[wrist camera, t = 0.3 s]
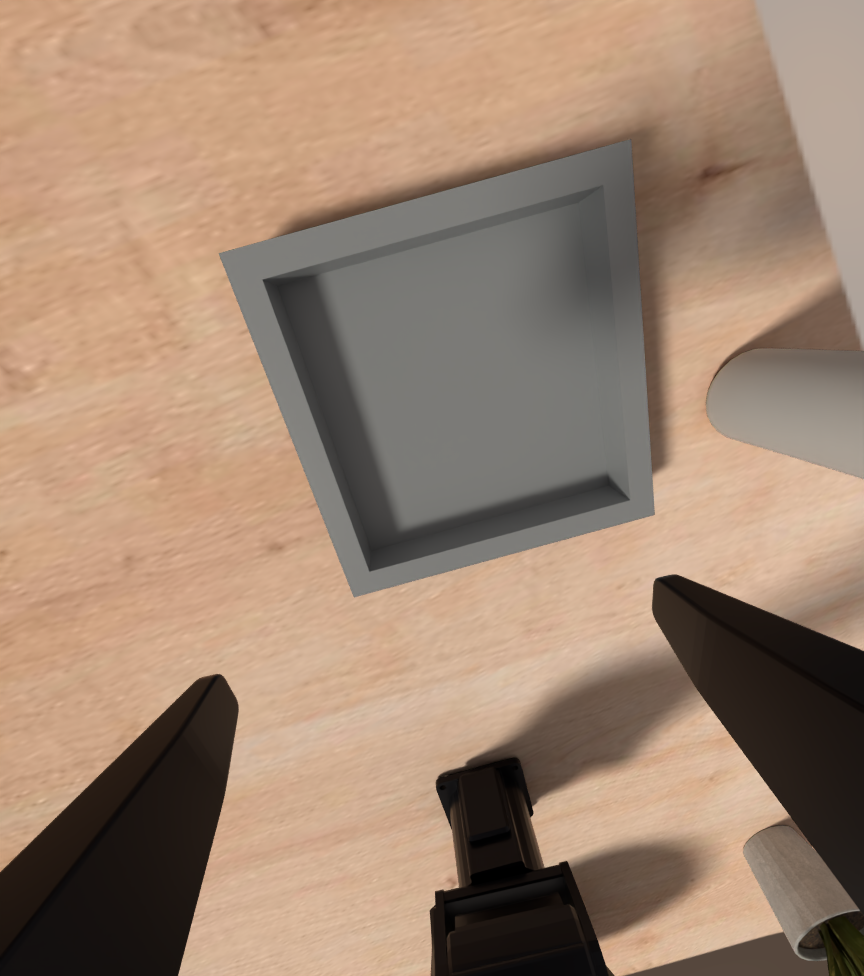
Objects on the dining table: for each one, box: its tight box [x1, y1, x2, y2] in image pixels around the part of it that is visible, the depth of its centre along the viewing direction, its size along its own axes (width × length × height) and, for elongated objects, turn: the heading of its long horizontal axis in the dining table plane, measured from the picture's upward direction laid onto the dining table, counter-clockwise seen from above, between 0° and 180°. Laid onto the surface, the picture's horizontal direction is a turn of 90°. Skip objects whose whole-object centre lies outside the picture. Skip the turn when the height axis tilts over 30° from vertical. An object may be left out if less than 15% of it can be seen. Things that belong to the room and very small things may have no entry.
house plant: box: [743, 825, 864, 976], centre depth 30 cm, size 14×14×16 cm
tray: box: [219, 139, 655, 597], centre depth 20 cm, size 16×16×3 cm
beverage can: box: [706, 348, 864, 479], centre depth 17 cm, size 5×5×12 cm
